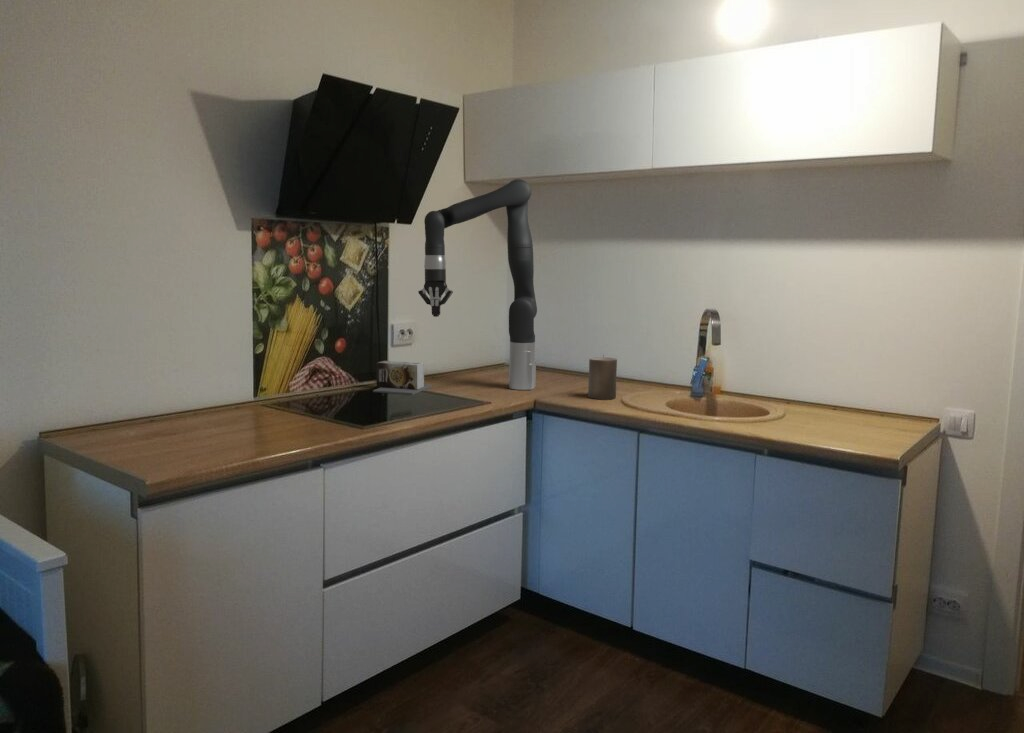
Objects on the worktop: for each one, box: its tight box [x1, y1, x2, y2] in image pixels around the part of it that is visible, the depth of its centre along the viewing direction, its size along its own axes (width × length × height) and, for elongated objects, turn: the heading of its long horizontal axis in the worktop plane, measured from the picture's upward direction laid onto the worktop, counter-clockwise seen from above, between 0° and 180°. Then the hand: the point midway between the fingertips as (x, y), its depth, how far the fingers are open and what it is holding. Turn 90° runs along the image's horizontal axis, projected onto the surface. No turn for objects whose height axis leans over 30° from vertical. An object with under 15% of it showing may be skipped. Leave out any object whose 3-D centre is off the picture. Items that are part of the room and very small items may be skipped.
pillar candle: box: [587, 354, 618, 401], centre depth 263 cm, size 10×10×15 cm
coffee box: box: [375, 360, 425, 390], centre depth 273 cm, size 9×6×16 cm
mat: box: [372, 384, 432, 396], centre depth 272 cm, size 15×18×1 cm
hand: (435, 316), depth 273 cm, fingers closed
